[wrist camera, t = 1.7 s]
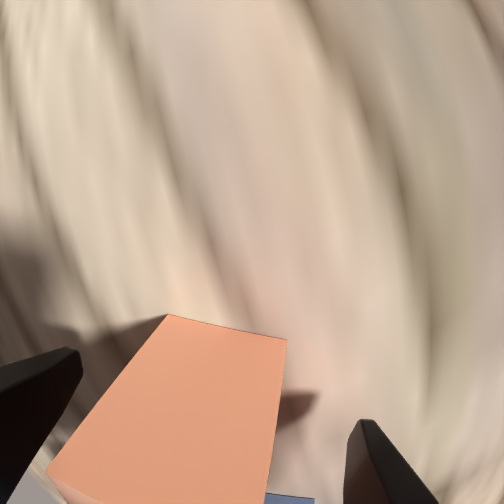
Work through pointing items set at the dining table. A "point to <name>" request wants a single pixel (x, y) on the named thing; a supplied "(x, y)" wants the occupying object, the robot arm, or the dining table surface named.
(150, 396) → the salmon pink prism
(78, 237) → the dining table surface
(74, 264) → the dining table surface
